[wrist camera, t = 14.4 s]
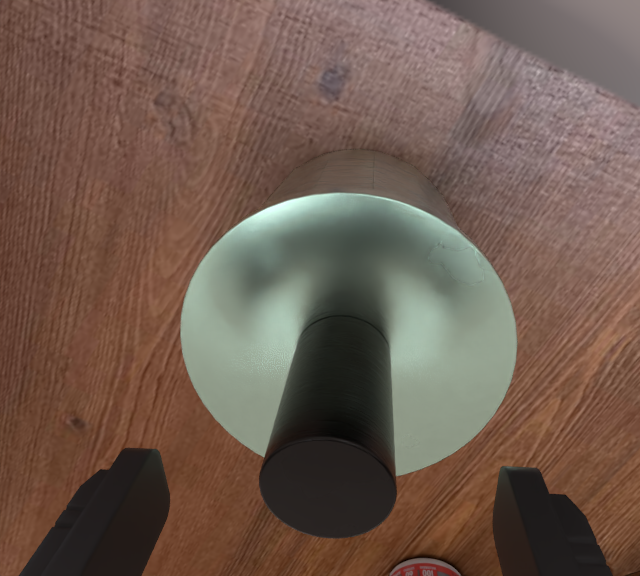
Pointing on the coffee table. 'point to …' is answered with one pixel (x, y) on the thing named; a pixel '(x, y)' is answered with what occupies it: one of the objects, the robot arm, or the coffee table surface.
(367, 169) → the pot
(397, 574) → the pill bottle
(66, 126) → the coffee table surface
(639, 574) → the mug
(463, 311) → the pot lid
